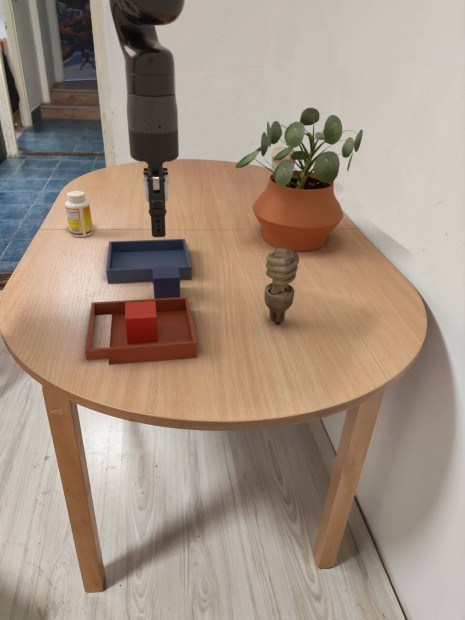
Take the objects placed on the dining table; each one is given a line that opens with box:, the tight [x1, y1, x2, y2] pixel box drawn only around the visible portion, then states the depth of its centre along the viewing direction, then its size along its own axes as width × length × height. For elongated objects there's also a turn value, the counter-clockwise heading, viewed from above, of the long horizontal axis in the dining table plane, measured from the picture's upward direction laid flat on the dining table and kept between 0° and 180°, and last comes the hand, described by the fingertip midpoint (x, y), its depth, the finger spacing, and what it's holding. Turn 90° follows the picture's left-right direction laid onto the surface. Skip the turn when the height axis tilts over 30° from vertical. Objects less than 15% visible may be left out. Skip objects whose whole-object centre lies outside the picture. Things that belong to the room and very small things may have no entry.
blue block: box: [152, 265, 181, 299], centre depth 89 cm, size 5×5×5 cm
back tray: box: [105, 238, 193, 285], centre depth 99 cm, size 17×14×3 cm
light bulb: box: [263, 246, 300, 325], centre depth 79 cm, size 6×6×15 cm
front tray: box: [84, 296, 198, 365], centre depth 77 cm, size 17×14×3 cm
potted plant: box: [235, 107, 364, 252], centre depth 107 cm, size 23×28×30 cm
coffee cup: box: [270, 146, 297, 175], centre depth 148 cm, size 8×8×12 cm
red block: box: [125, 301, 158, 343], centre depth 76 cm, size 5×5×5 cm
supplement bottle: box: [64, 190, 94, 238], centre depth 110 cm, size 6×6×10 cm
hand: (158, 226), depth 77 cm, fingers open, 8 cm apart
